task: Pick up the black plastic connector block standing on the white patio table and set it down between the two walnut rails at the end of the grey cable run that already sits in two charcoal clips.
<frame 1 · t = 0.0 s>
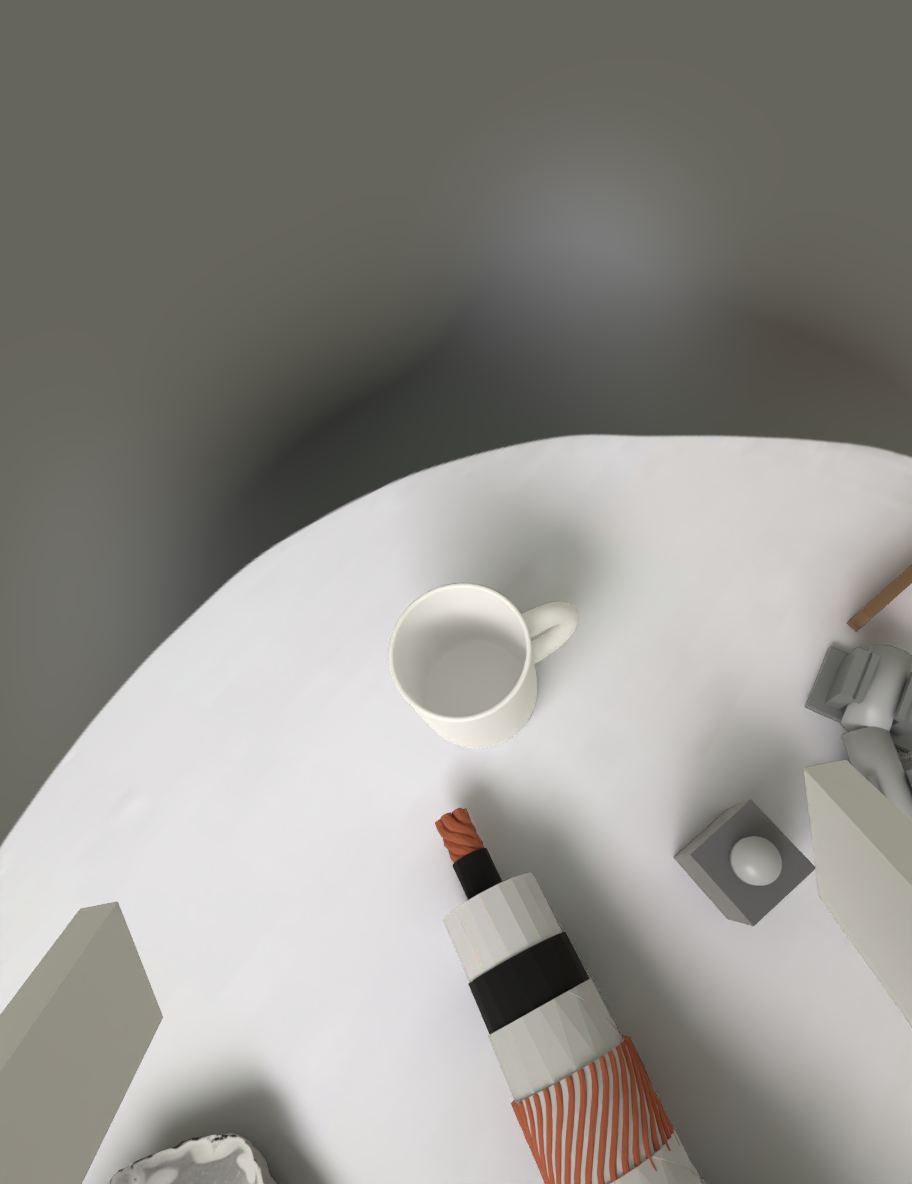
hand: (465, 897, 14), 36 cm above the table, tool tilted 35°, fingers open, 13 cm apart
cable: (589, 1093, 43), on the table
mug: (502, 679, 53), on the table
clip1: (879, 809, 46), on the table
connector: (726, 863, 46), on the table
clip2: (866, 699, 48), on the table
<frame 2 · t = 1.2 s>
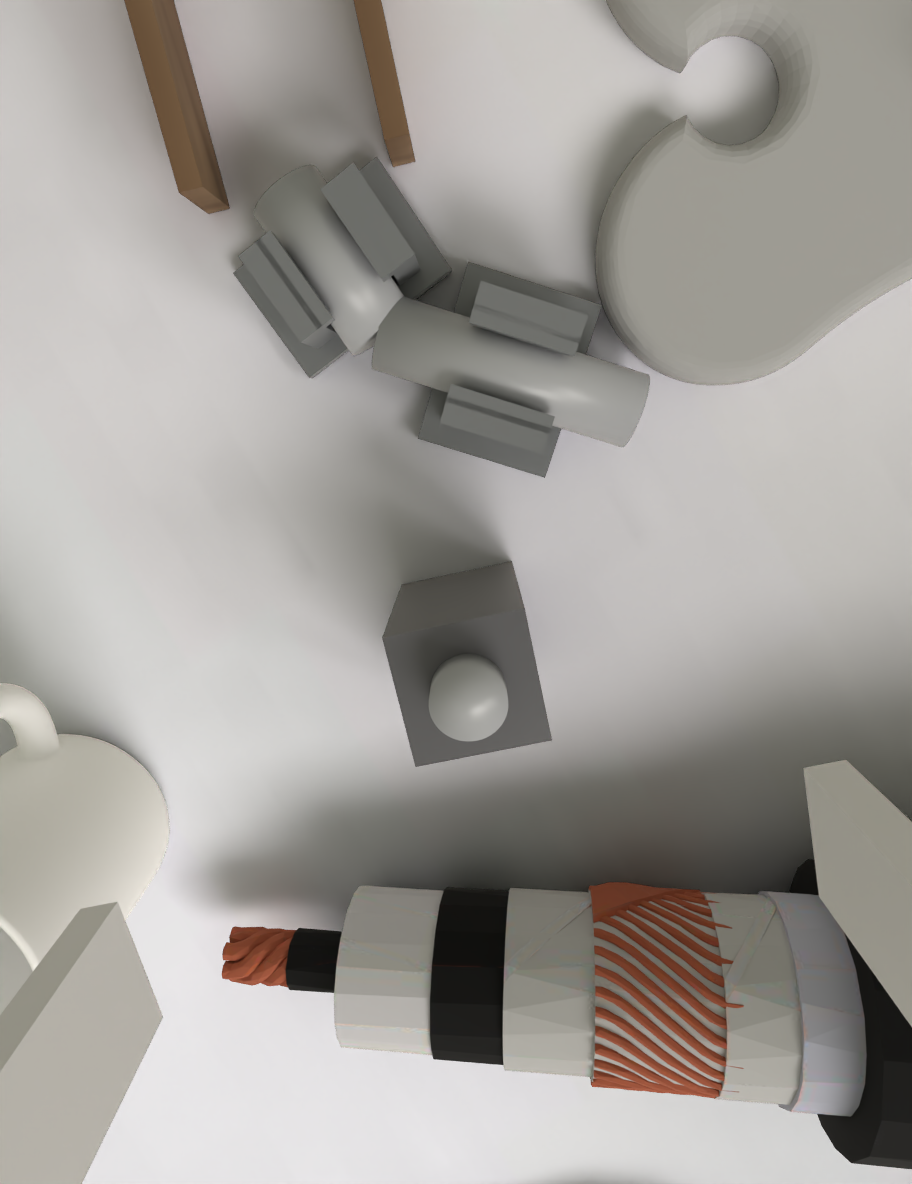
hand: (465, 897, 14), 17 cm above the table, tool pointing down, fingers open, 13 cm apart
cable: (625, 910, 34), on the table
mug: (79, 773, 33), on the table
end holder: (279, 61, 25), on the table
clip1: (507, 373, 28), on the table
connector: (468, 625, 30), on the table
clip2: (344, 273, 27), on the table
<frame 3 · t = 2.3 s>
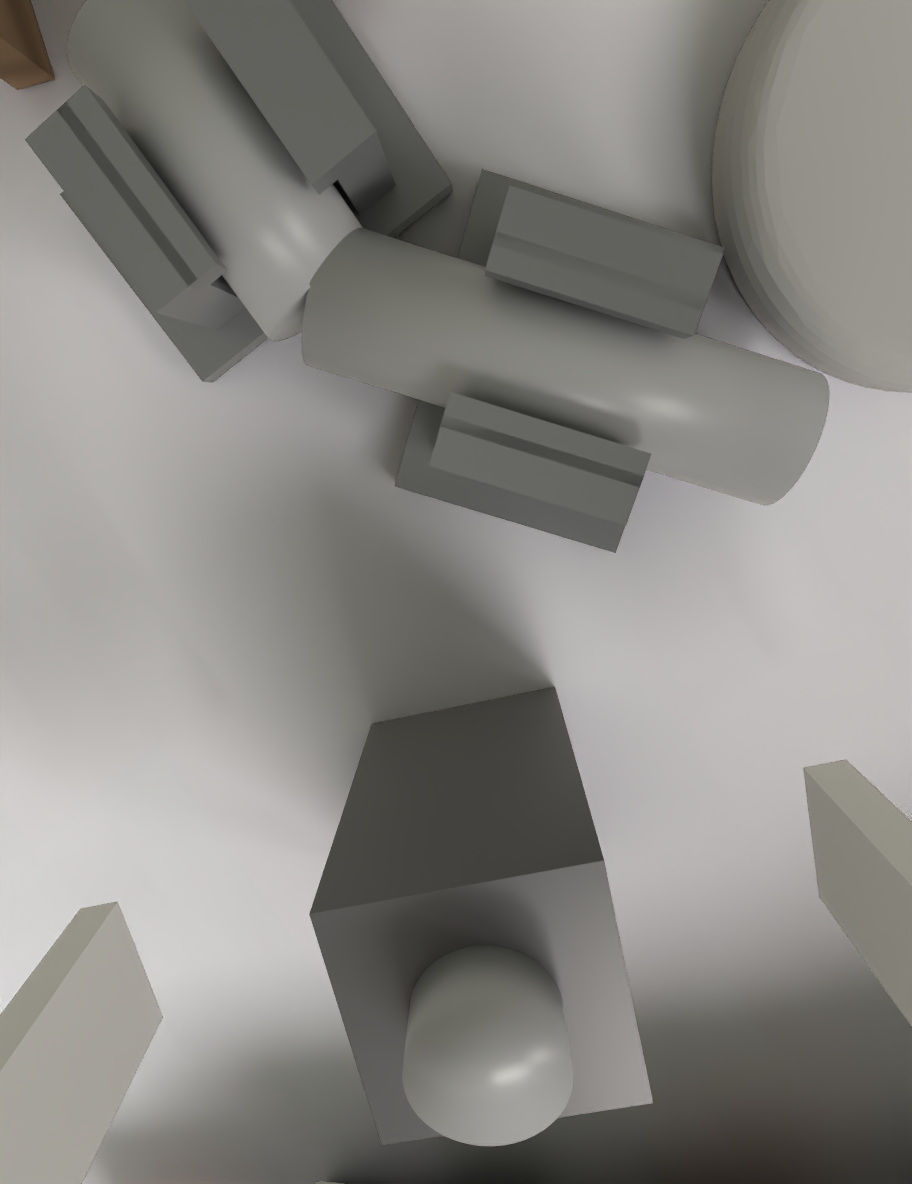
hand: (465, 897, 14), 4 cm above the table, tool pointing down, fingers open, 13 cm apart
clip1: (549, 373, 16), on the table
connector: (482, 788, 18), on the table
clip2: (262, 197, 15), on the table
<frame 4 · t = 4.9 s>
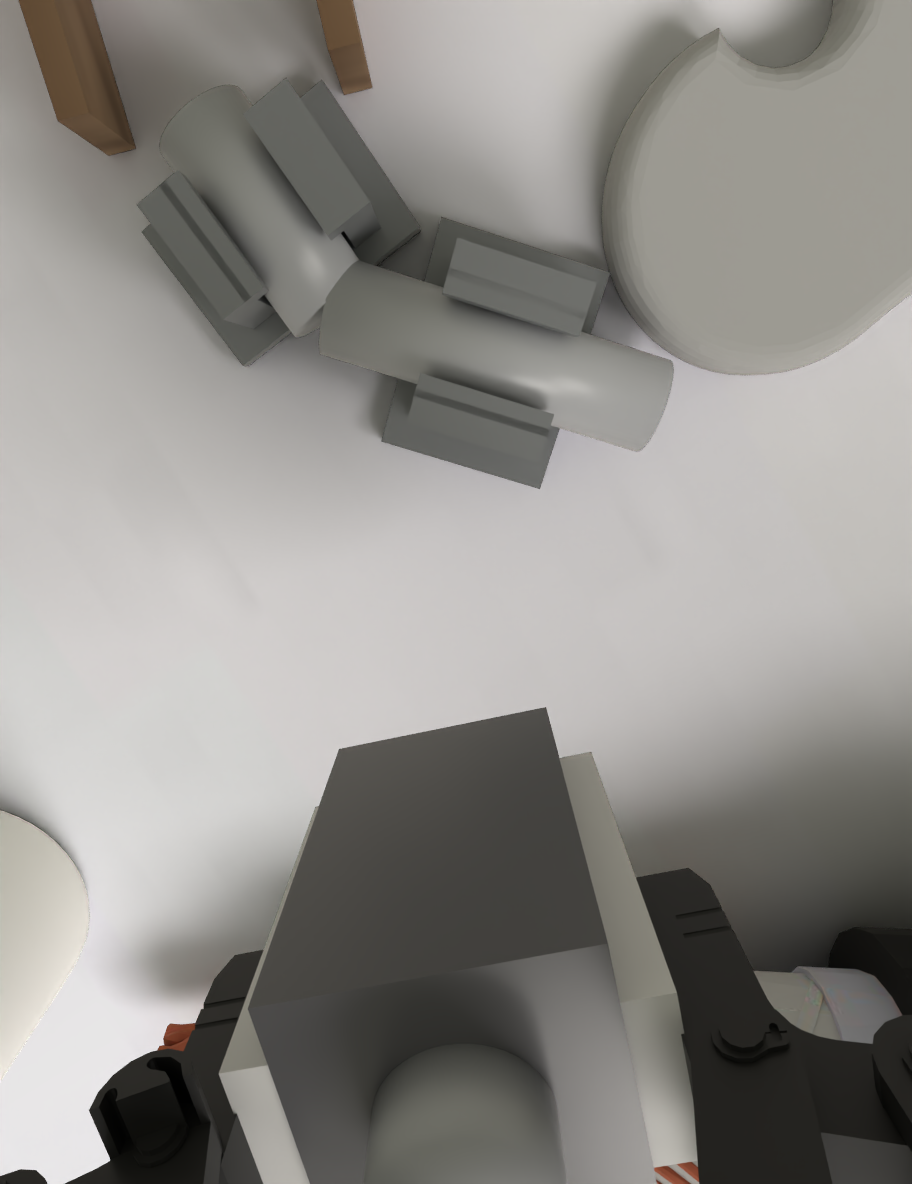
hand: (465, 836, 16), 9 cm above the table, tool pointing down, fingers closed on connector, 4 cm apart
cable: (635, 983, 29), on the table
clip1: (491, 360, 22), on the table
connector: (464, 820, 16), point 9 cm above the table, touching gripper
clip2: (285, 233, 21), on the table
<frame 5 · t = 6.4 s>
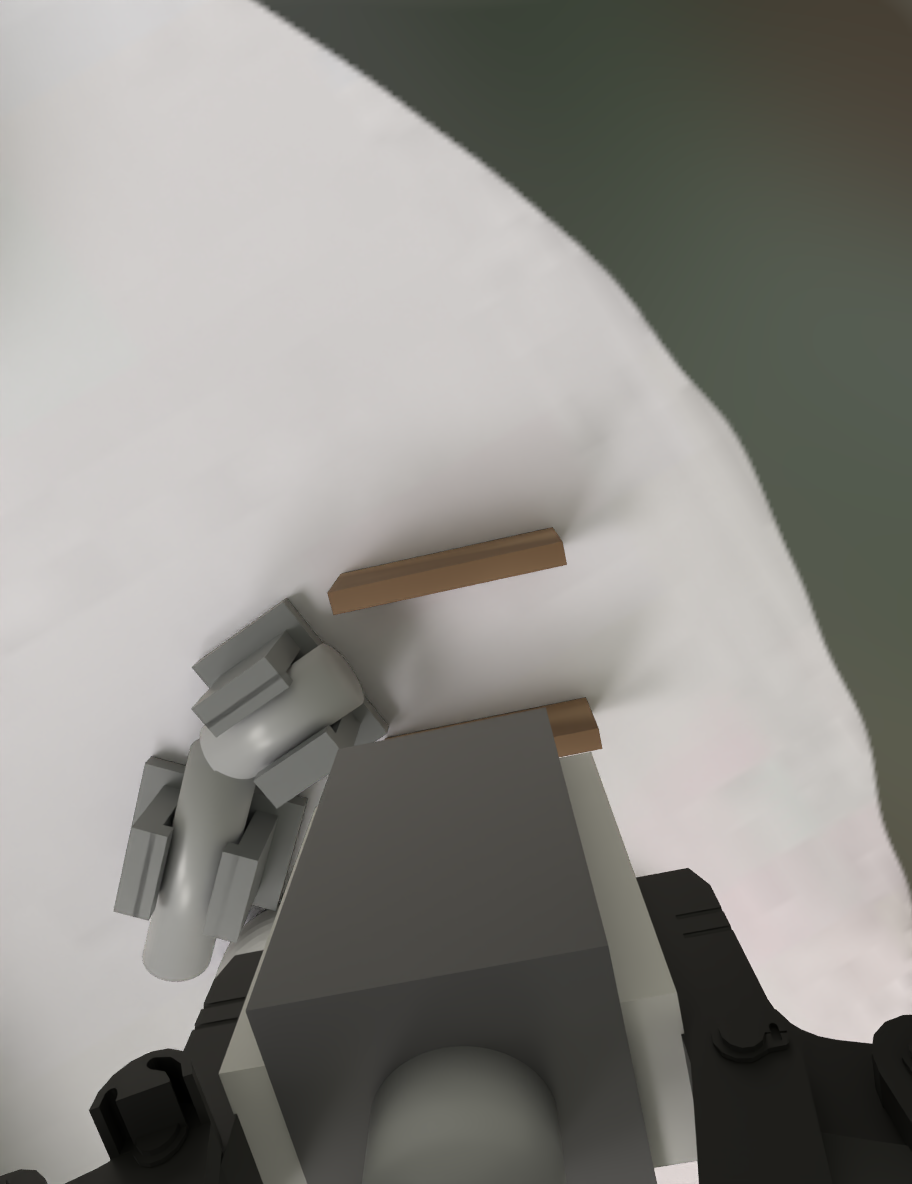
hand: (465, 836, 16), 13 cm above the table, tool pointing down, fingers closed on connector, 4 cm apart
end holder: (467, 646, 28), on the table
clip1: (216, 830, 30), on the table
connector: (464, 821, 16), point 12 cm above the table, touching gripper
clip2: (294, 694, 29), on the table
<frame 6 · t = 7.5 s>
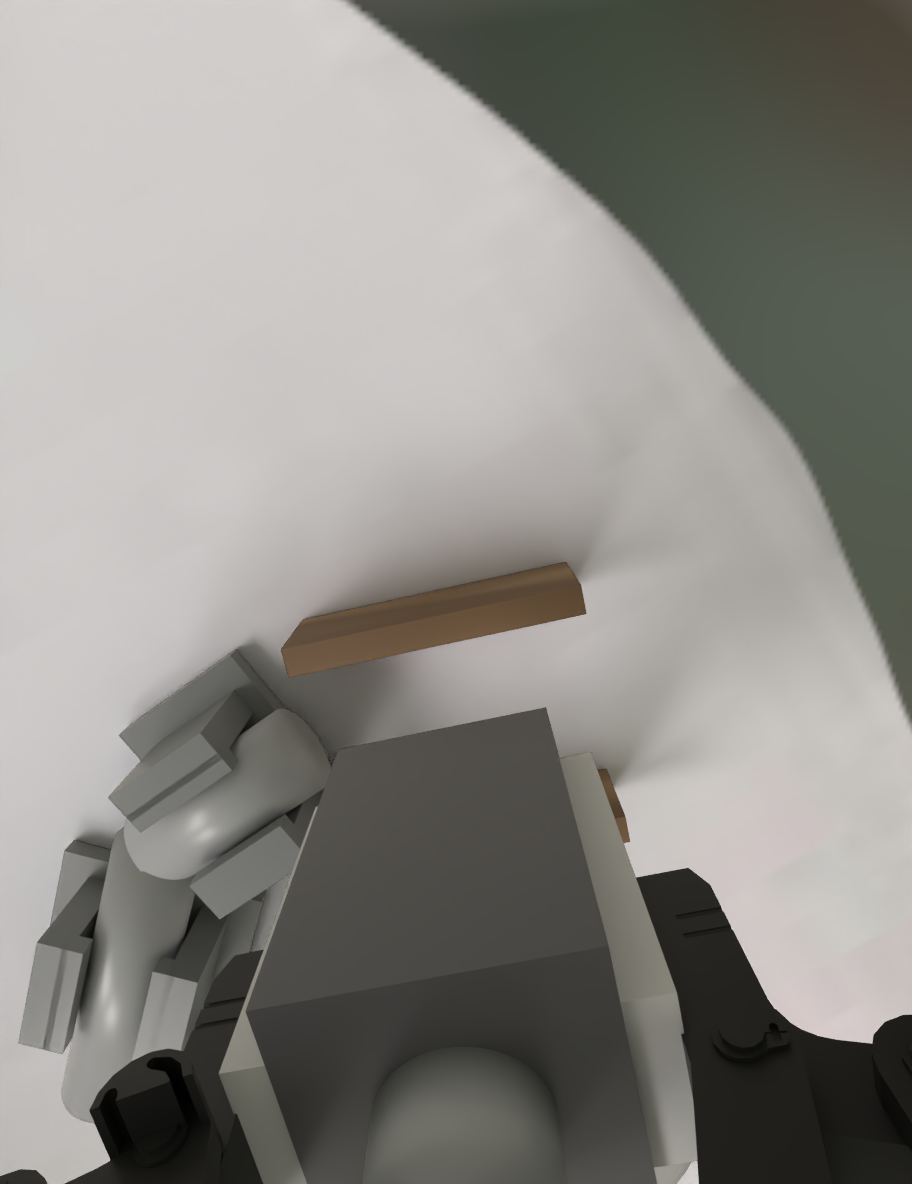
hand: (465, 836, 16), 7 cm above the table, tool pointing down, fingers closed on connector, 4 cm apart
end holder: (461, 707, 23), on the table
clip1: (156, 928, 25), on the table
connector: (464, 821, 16), point 7 cm above the table, touching gripper
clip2: (247, 766, 24), on the table
when the fingers open (1 cm above the table, at t = 9.3 s): connector stays where it is, on the table.
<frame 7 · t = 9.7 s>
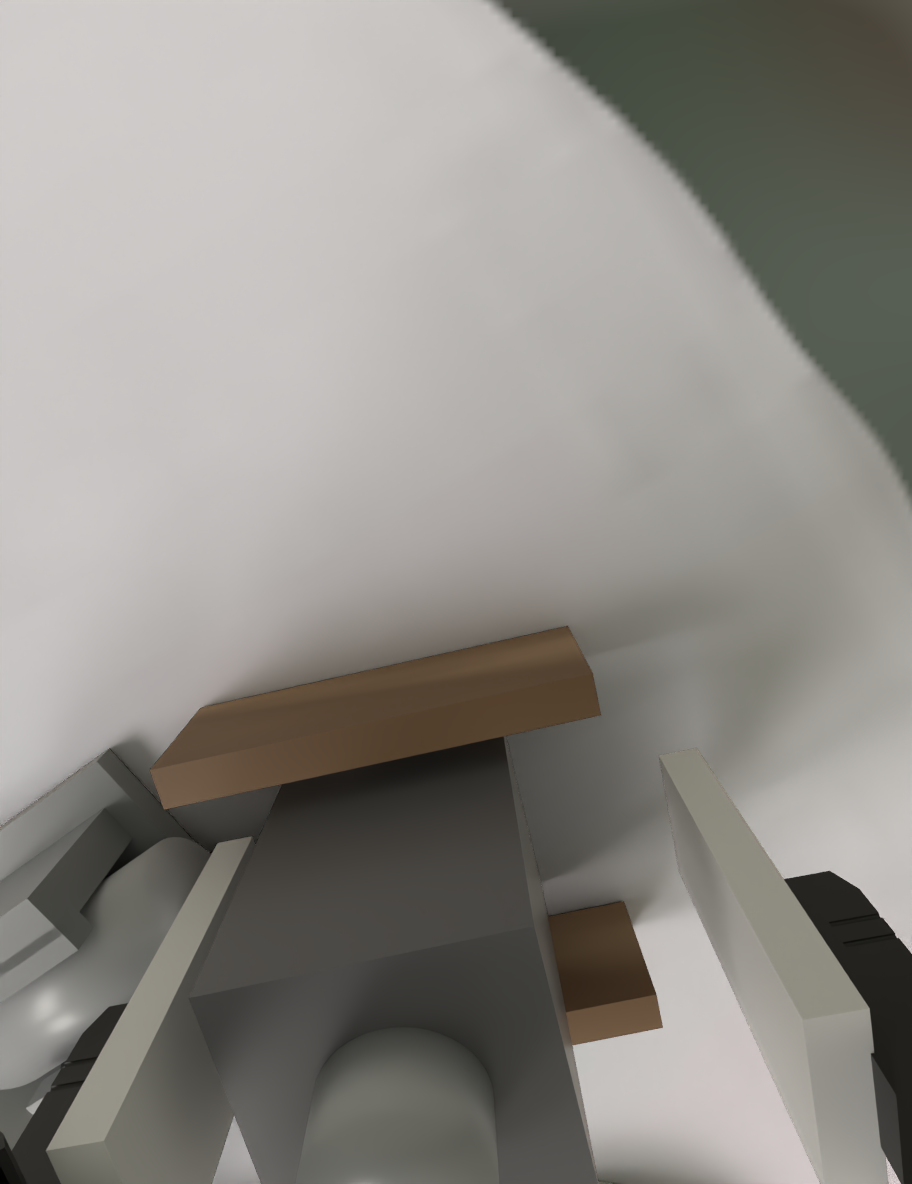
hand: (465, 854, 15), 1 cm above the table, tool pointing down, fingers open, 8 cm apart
end holder: (424, 823, 17), on the table
clip1: (19, 1112, 19), on the table
connector: (422, 817, 17), on the table
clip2: (132, 903, 17), on the table
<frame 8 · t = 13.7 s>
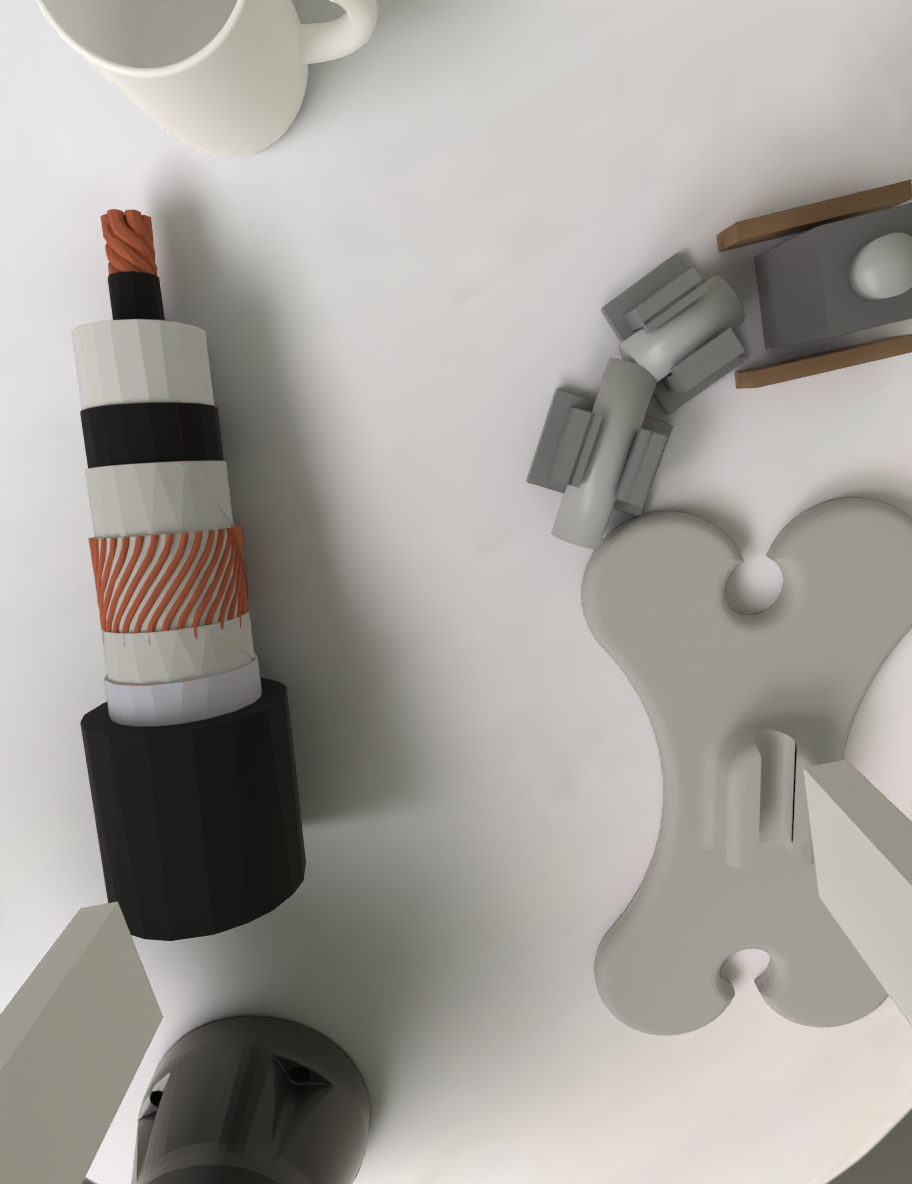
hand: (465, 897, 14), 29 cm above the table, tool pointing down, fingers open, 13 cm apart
cable: (201, 557, 42), on the table
mug: (266, 68, 36), on the table
end holder: (805, 295, 38), on the table
clip1: (597, 453, 40), on the table
connector: (804, 292, 38), on the table
holder: (742, 779, 46), on the table
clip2: (670, 336, 39), on the table
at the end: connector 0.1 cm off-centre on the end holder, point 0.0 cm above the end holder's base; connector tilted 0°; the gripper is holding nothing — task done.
